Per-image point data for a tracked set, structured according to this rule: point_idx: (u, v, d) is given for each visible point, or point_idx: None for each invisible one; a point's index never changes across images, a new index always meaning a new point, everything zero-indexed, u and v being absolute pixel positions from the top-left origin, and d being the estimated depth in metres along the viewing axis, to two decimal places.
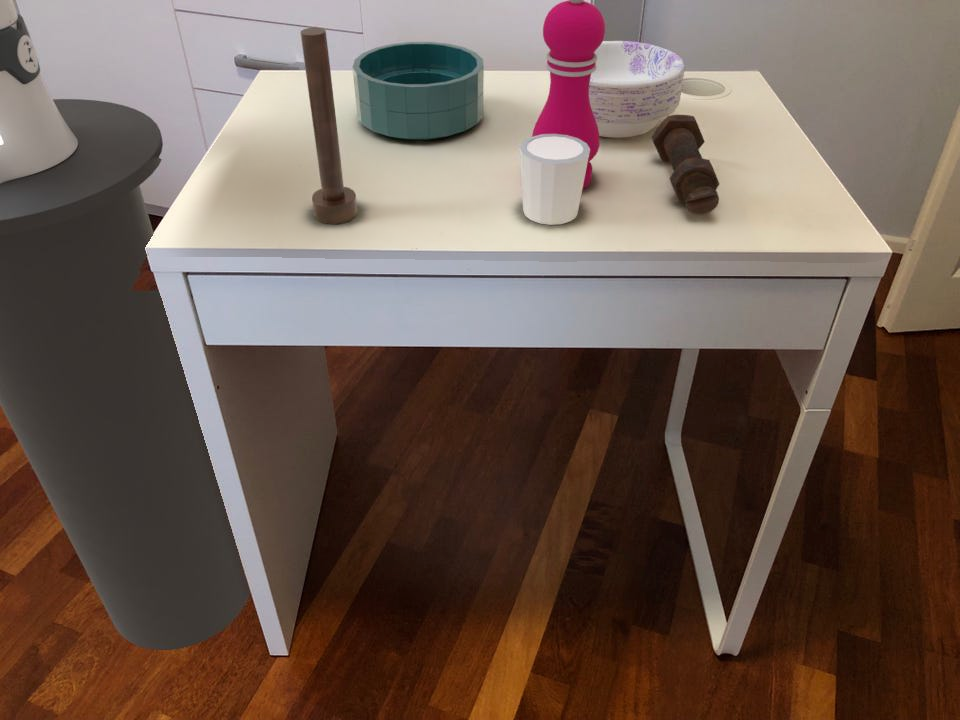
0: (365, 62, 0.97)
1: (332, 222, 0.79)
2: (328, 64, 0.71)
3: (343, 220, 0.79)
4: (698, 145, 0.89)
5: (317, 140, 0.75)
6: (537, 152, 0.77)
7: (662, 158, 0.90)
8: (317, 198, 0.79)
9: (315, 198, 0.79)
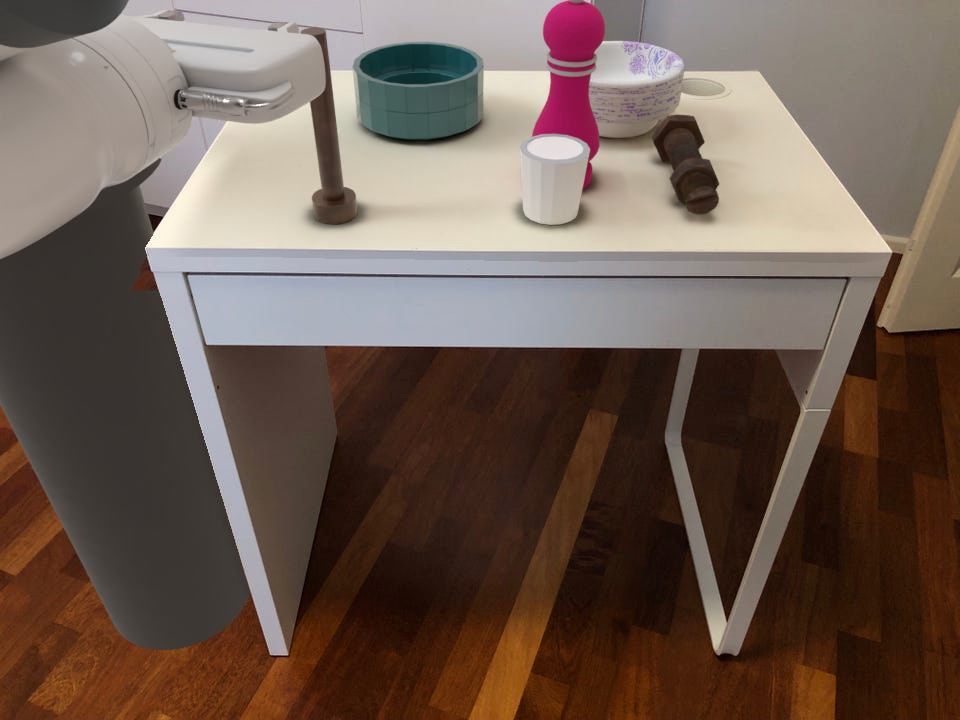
0: (365, 62, 0.97)
1: (332, 222, 0.79)
2: (328, 64, 0.71)
3: (343, 220, 0.79)
4: (698, 145, 0.89)
5: (317, 140, 0.75)
6: (537, 152, 0.77)
7: (662, 158, 0.90)
8: (317, 198, 0.79)
9: (315, 198, 0.79)
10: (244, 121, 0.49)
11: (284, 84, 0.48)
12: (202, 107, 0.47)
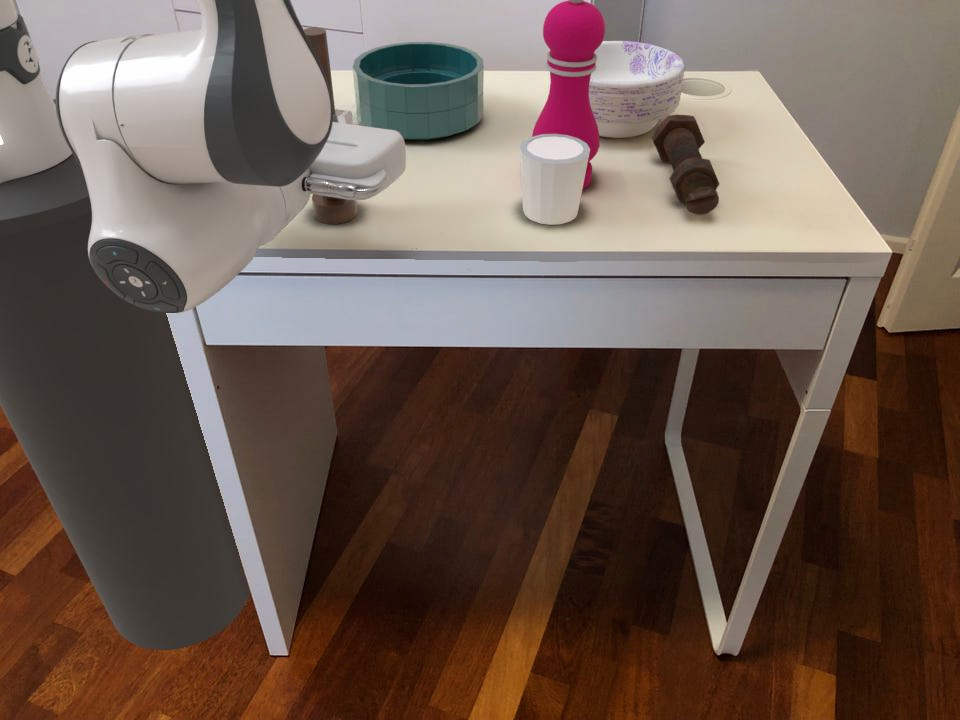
0: (365, 62, 0.97)
1: (332, 222, 0.79)
2: (328, 64, 0.71)
3: (343, 220, 0.79)
4: (698, 145, 0.89)
5: None
6: (537, 152, 0.77)
7: (662, 158, 0.90)
8: (317, 198, 0.79)
9: (315, 198, 0.79)
10: (350, 198, 0.66)
11: (380, 172, 0.65)
12: (322, 190, 0.64)
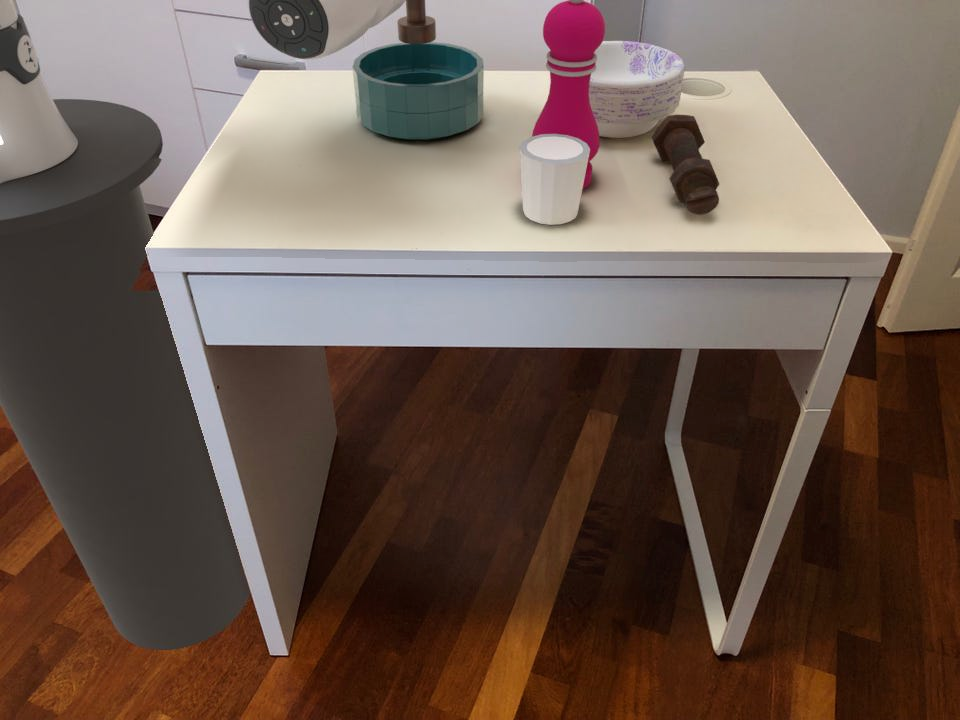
0: (365, 62, 0.97)
1: (415, 42, 0.91)
2: None
3: (425, 41, 0.91)
4: (698, 145, 0.89)
5: None
6: (537, 152, 0.77)
7: (662, 158, 0.90)
8: (402, 21, 0.91)
9: (401, 22, 0.91)
10: None
11: None
12: None
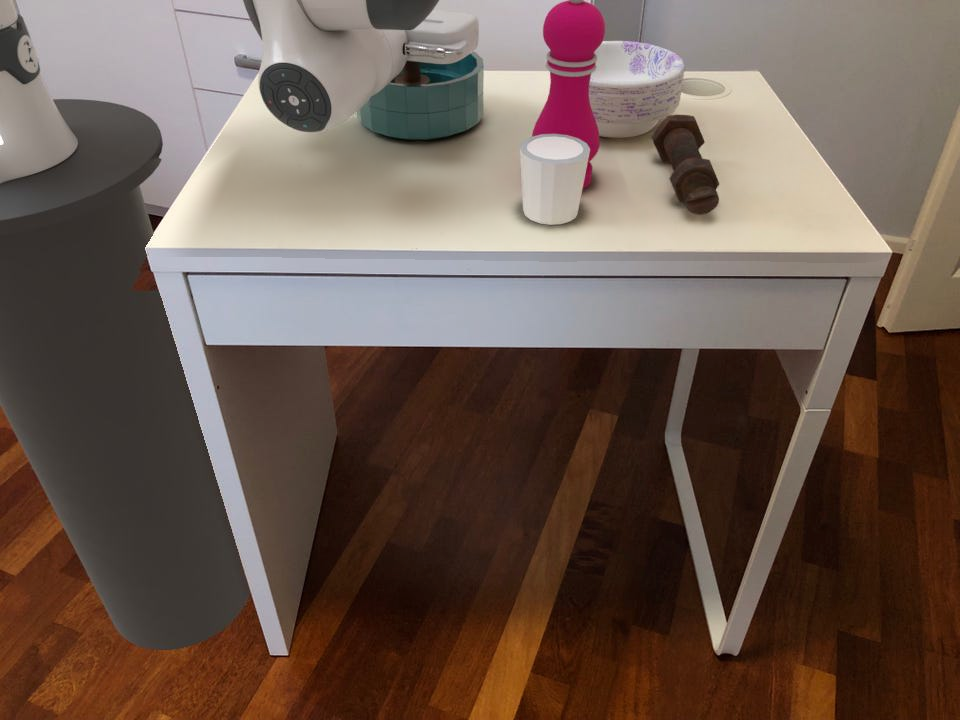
0: None
1: None
2: None
3: None
4: (698, 145, 0.89)
5: None
6: (537, 152, 0.77)
7: (662, 158, 0.90)
8: (399, 81, 0.98)
9: (397, 81, 0.98)
10: (438, 62, 0.84)
11: (462, 41, 0.84)
12: (419, 53, 0.82)
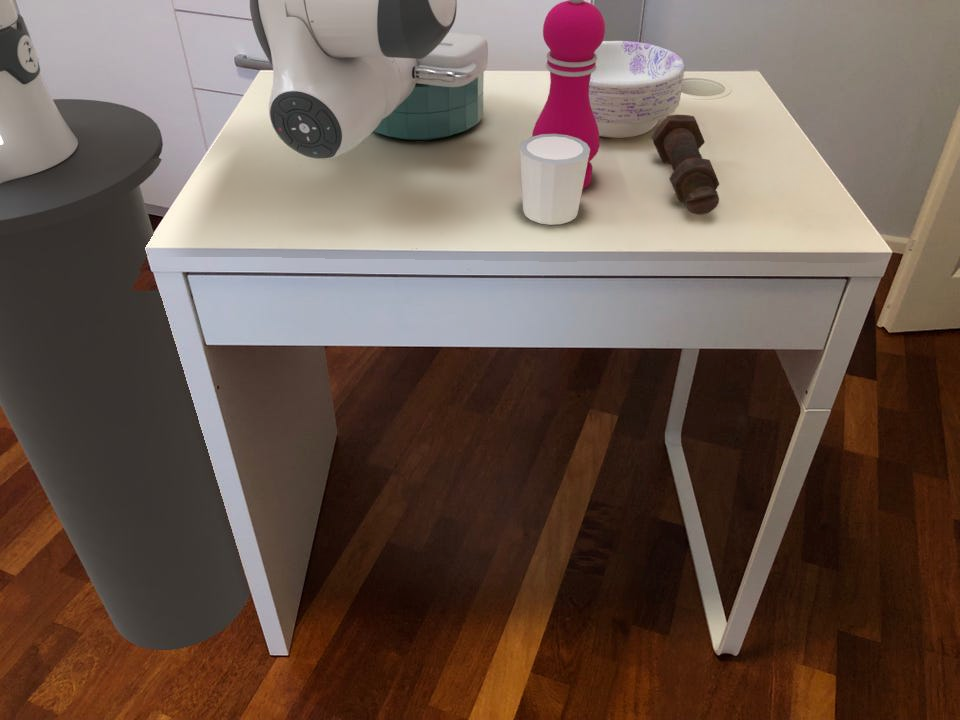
0: None
1: None
2: None
3: None
4: (698, 145, 0.89)
5: None
6: (537, 152, 0.77)
7: (662, 158, 0.90)
8: None
9: None
10: (447, 85, 0.84)
11: (471, 64, 0.84)
12: (428, 77, 0.82)
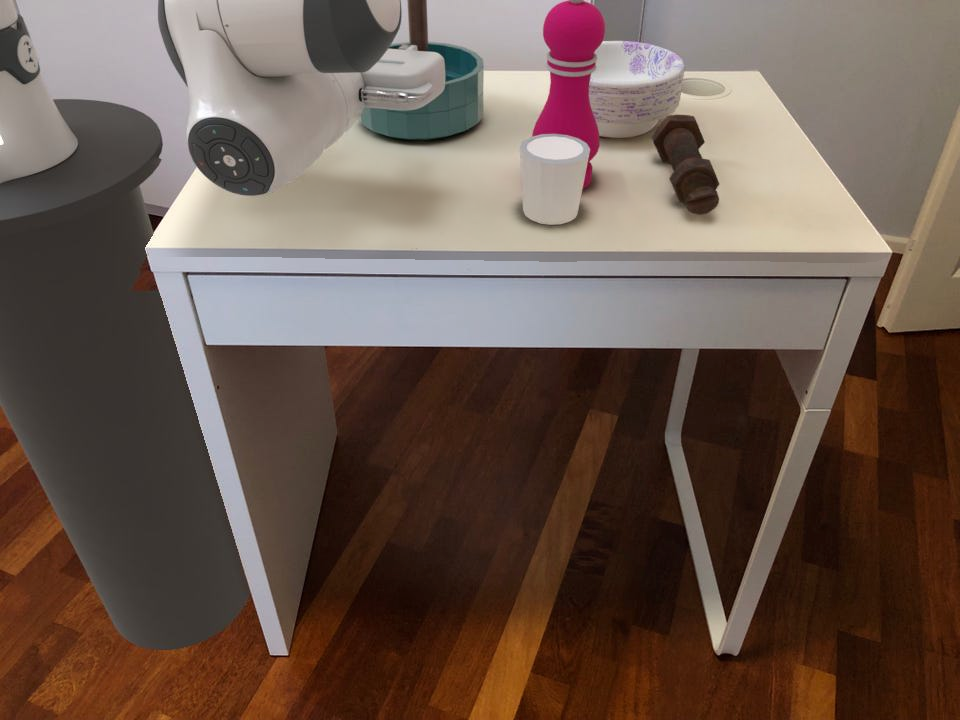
0: None
1: None
2: None
3: None
4: (698, 145, 0.89)
5: None
6: (537, 152, 0.77)
7: (662, 158, 0.90)
8: None
9: None
10: (400, 109, 0.74)
11: (427, 84, 0.73)
12: (377, 99, 0.72)
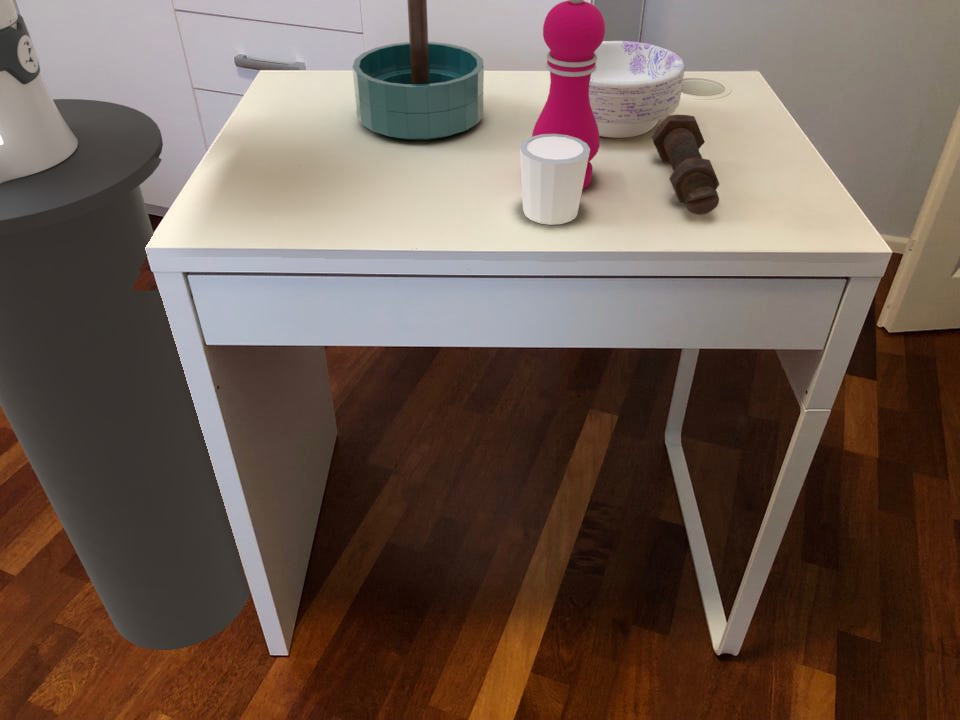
0: (365, 62, 0.97)
1: None
2: None
3: None
4: (698, 145, 0.89)
5: (412, 47, 0.93)
6: (537, 152, 0.77)
7: (662, 158, 0.90)
8: None
9: None
10: None
11: None
12: None
